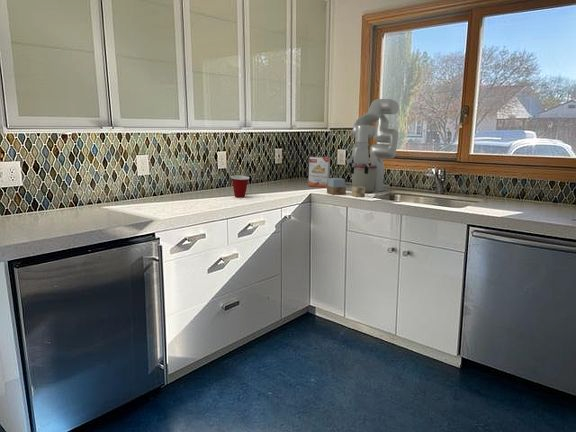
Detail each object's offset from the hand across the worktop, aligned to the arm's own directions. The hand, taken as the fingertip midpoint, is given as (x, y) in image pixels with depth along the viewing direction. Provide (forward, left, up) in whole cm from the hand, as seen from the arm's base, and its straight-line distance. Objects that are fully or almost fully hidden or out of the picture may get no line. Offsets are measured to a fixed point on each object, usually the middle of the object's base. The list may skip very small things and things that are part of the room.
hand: (359, 173), depth 270 cm
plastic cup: (+73, -9, -14) cm, 75 cm away
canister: (-13, -17, -14) cm, 26 cm away
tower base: (+9, -12, -15) cm, 21 cm away
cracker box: (+6, -47, -14) cm, 50 cm away
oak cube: (0, 0, -14) cm, 14 cm away
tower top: (+9, -13, -10) cm, 18 cm away
